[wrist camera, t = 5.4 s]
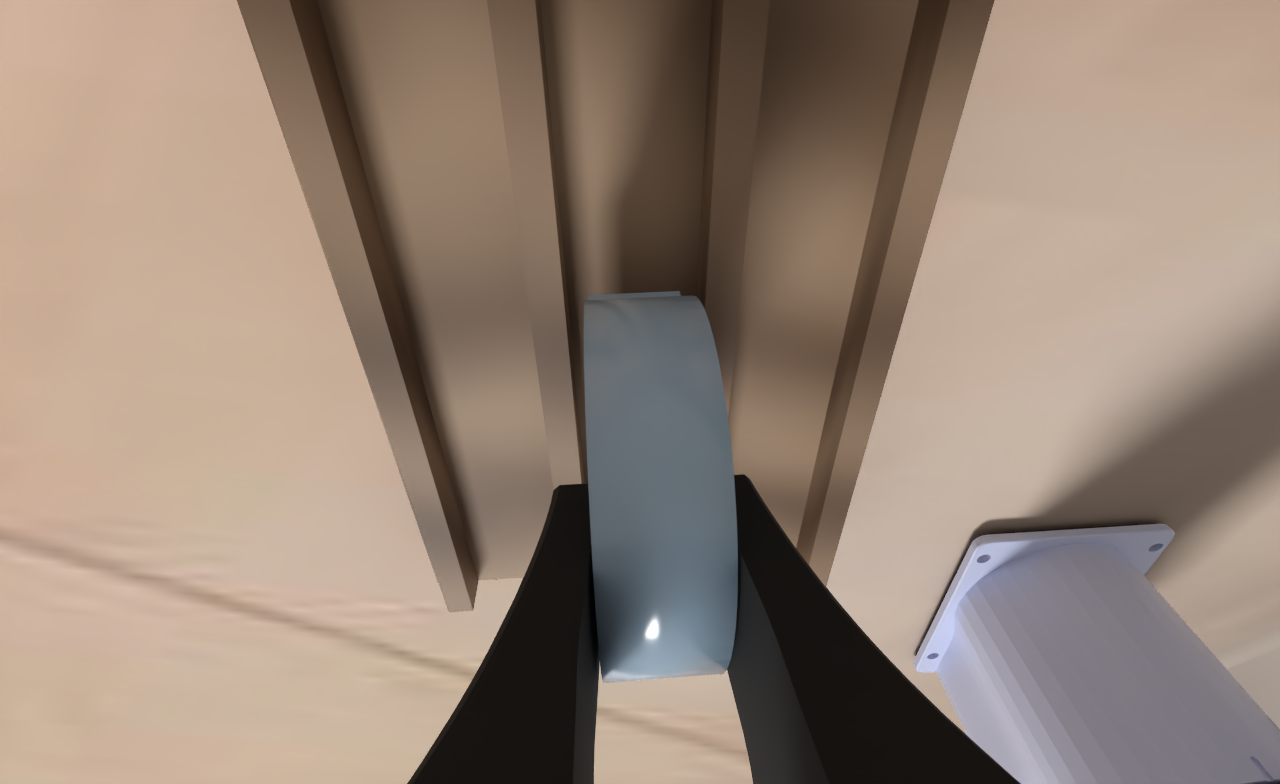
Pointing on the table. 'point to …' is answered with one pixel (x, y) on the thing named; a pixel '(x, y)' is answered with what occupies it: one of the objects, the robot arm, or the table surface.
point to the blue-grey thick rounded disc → (659, 488)
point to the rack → (616, 225)
